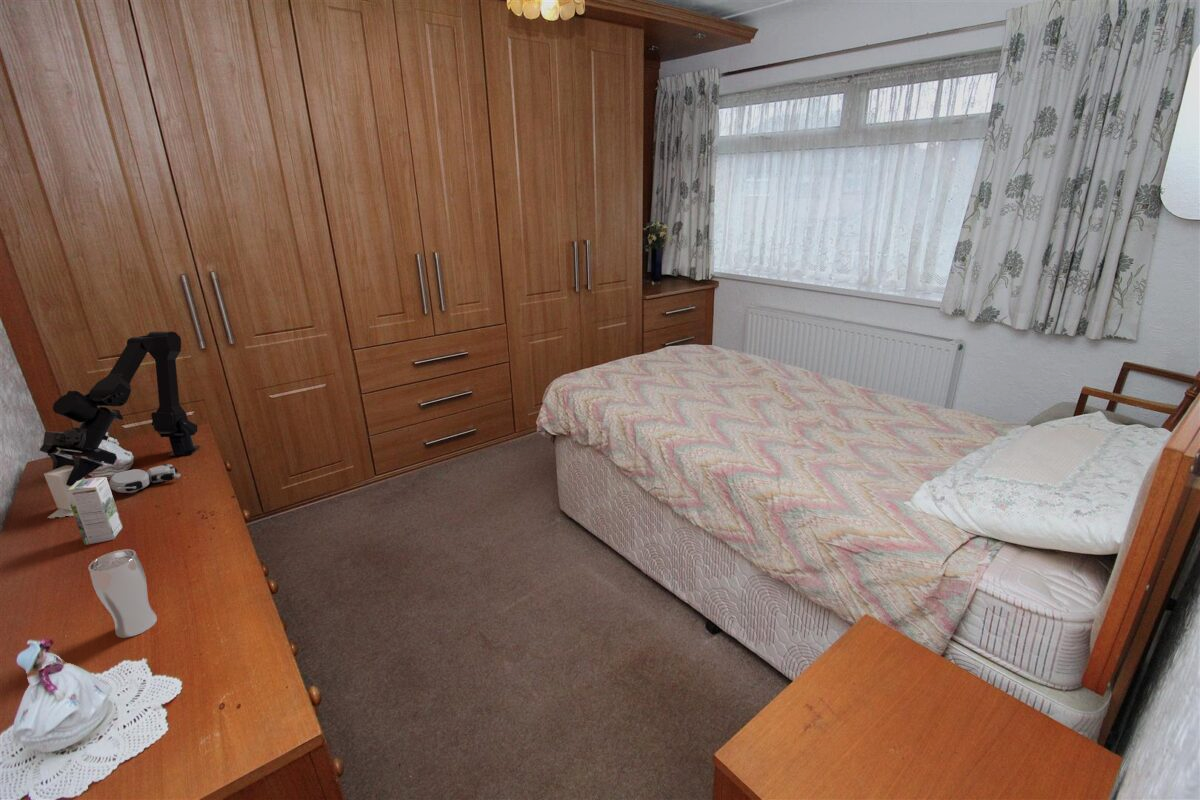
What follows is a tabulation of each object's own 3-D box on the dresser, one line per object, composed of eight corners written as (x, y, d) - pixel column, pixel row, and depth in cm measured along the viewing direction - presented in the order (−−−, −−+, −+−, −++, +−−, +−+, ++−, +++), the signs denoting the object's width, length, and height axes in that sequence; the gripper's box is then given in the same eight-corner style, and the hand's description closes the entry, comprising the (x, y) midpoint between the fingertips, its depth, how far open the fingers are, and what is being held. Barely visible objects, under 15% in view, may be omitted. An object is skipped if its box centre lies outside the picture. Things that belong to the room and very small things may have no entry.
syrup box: (94, 533, 131) (74, 480, 126) (124, 527, 134) (106, 475, 129) (84, 545, 126) (63, 491, 122) (115, 539, 129) (96, 486, 124)
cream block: (79, 498, 145) (66, 465, 141) (93, 500, 143) (80, 467, 140) (57, 507, 140) (43, 473, 137) (71, 510, 139) (58, 475, 135)
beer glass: (154, 608, 106) (131, 543, 101) (164, 624, 102) (141, 558, 97) (109, 628, 101) (82, 561, 96) (117, 646, 97) (90, 577, 92)
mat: (69, 502, 145) (69, 501, 145) (104, 499, 147) (103, 498, 146) (47, 518, 138) (47, 517, 137) (84, 514, 139) (83, 513, 139)
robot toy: (173, 472, 164) (108, 487, 153) (170, 458, 162) (105, 472, 152) (184, 485, 156) (116, 501, 145) (181, 470, 155) (113, 486, 144)
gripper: (35, 413, 139) (-2, 471, 133) (89, 419, 135) (54, 479, 129) (79, 430, 149) (46, 484, 143) (131, 436, 145) (100, 491, 139)
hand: (60, 484), depth 138 cm, fingers closed on cream block, 5 cm apart
